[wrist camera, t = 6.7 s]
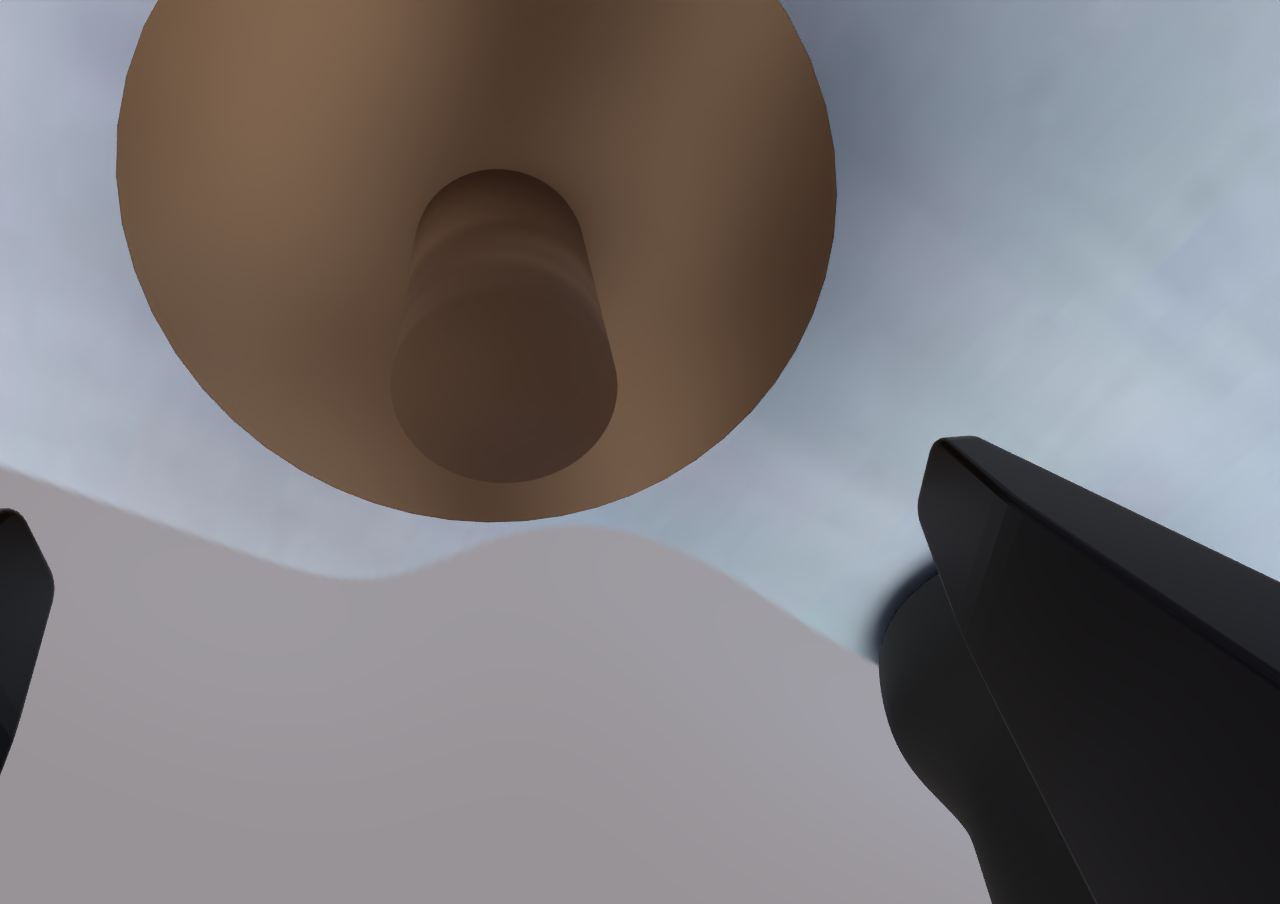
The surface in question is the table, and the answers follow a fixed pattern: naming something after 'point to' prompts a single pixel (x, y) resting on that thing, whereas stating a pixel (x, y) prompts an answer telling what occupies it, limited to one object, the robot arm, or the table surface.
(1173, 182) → the table surface
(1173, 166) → the table surface
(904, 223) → the table surface
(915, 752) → the cola bottle
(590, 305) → the lid
